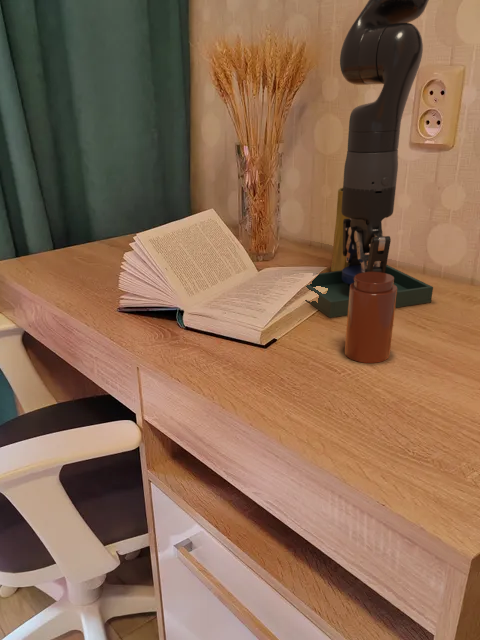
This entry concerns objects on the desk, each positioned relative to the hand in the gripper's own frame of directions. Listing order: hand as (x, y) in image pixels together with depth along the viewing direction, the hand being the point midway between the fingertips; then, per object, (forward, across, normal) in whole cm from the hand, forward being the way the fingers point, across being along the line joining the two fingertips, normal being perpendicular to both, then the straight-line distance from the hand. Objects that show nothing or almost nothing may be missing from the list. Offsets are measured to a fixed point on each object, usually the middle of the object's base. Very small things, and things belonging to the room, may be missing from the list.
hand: (360, 291), depth 95 cm
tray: (+1, 0, 0) cm, 1 cm away
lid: (-3, 0, 0) cm, 3 cm away
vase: (+1, -14, +3) cm, 14 cm away
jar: (+1, +21, -6) cm, 22 cm away
